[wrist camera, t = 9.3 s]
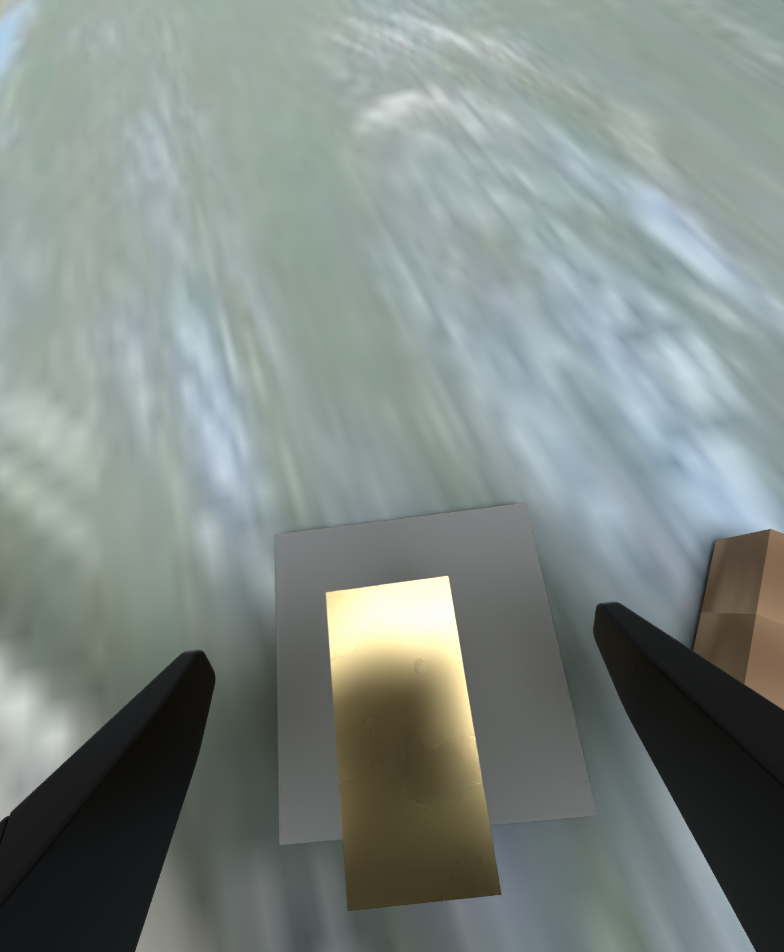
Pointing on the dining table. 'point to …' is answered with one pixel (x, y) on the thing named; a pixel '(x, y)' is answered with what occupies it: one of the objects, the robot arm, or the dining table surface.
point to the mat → (482, 649)
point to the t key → (406, 749)
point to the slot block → (746, 612)
